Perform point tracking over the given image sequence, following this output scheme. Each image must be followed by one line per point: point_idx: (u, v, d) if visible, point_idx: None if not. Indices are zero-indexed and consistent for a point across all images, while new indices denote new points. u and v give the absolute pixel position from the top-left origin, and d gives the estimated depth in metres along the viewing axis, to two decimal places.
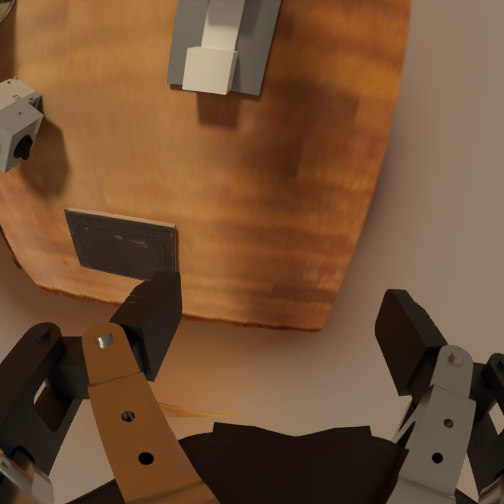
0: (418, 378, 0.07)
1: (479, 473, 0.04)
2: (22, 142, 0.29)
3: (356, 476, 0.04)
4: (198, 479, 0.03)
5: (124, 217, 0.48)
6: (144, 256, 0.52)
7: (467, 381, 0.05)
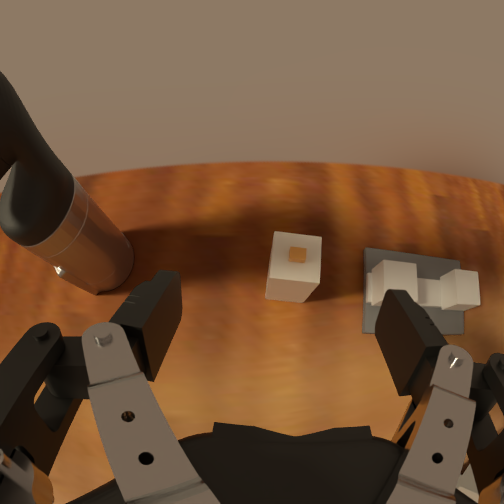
0: (418, 378, 0.07)
1: (478, 474, 0.04)
2: None
3: (356, 476, 0.04)
4: (198, 479, 0.03)
5: None
6: None
7: (467, 381, 0.05)
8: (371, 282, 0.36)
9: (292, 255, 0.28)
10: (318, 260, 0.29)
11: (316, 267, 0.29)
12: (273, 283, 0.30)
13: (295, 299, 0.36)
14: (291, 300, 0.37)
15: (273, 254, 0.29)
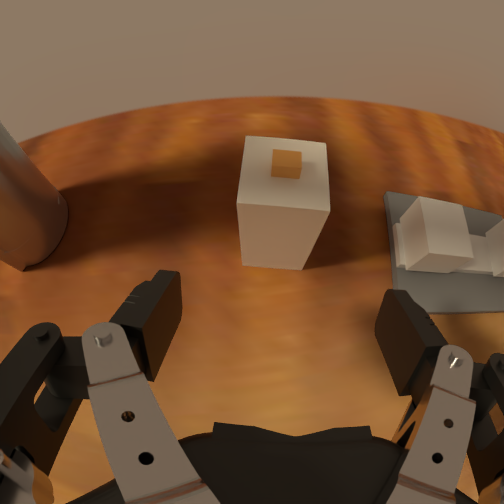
0: (418, 378, 0.07)
1: (478, 474, 0.04)
2: None
3: (356, 476, 0.04)
4: (198, 479, 0.03)
5: None
6: None
7: (467, 381, 0.05)
8: (401, 236, 0.23)
9: (277, 161, 0.15)
10: (324, 175, 0.16)
11: (321, 185, 0.16)
12: (247, 221, 0.17)
13: (289, 262, 0.23)
14: (283, 265, 0.24)
15: (244, 167, 0.16)
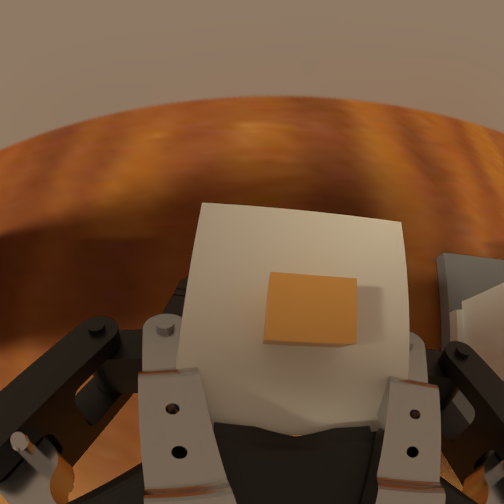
0: None
1: (455, 462, 0.05)
2: None
3: (356, 476, 0.04)
4: (225, 482, 0.03)
5: None
6: None
7: (414, 365, 0.06)
8: (463, 331, 0.13)
9: (281, 324, 0.05)
10: (400, 327, 0.06)
11: (392, 359, 0.05)
12: None
13: None
14: None
15: (190, 310, 0.06)
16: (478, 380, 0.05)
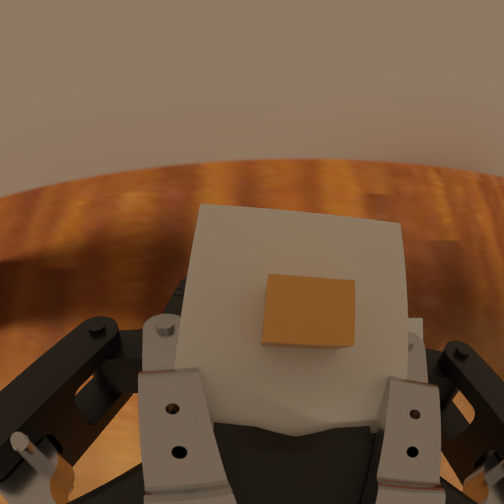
0: None
1: (455, 462, 0.05)
2: None
3: (356, 476, 0.04)
4: (225, 482, 0.03)
5: None
6: None
7: (414, 365, 0.06)
8: None
9: (279, 326, 0.05)
10: (399, 328, 0.06)
11: (390, 361, 0.05)
12: None
13: None
14: None
15: (188, 311, 0.06)
16: (478, 380, 0.05)
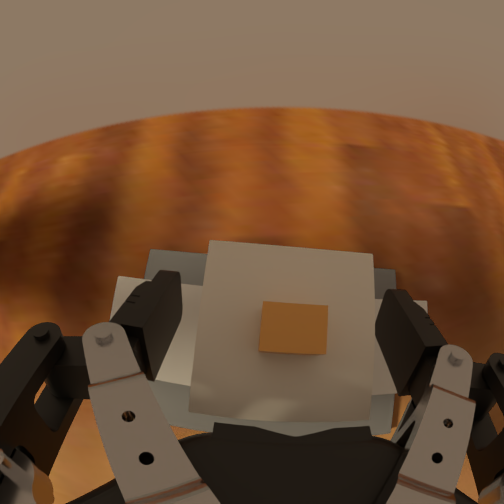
0: (418, 378, 0.07)
1: (478, 473, 0.04)
2: None
3: (356, 476, 0.04)
4: (198, 479, 0.03)
5: None
6: None
7: (467, 381, 0.05)
8: None
9: (271, 339, 0.07)
10: (367, 340, 0.07)
11: (359, 365, 0.07)
12: None
13: None
14: None
15: (202, 326, 0.08)
16: None
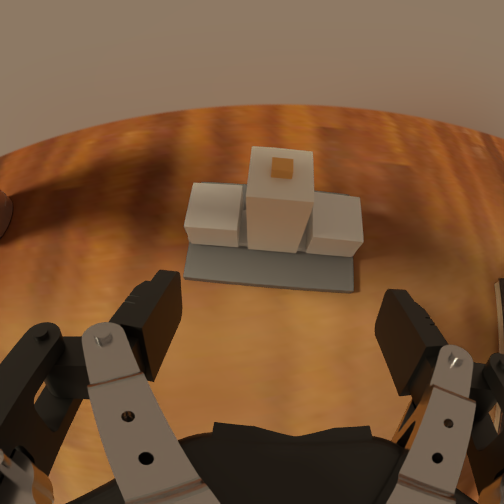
0: (418, 378, 0.07)
1: (478, 474, 0.04)
2: None
3: (356, 476, 0.04)
4: (198, 479, 0.03)
5: (501, 349, 0.26)
6: None
7: (467, 381, 0.05)
8: None
9: (275, 166, 0.21)
10: (310, 176, 0.22)
11: (307, 183, 0.21)
12: (253, 210, 0.23)
13: (286, 246, 0.29)
14: (281, 249, 0.29)
15: (251, 170, 0.22)
16: None
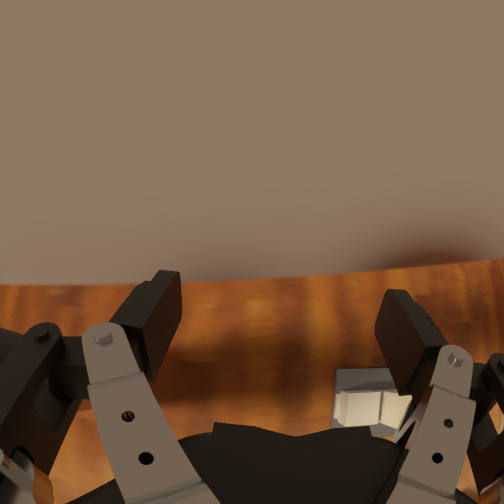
0: (418, 378, 0.07)
1: (479, 473, 0.04)
2: None
3: (356, 476, 0.04)
4: (198, 479, 0.03)
5: None
6: None
7: (467, 381, 0.05)
8: (339, 402, 0.38)
9: None
10: None
11: None
12: None
13: None
14: None
15: None
16: None
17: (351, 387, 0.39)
